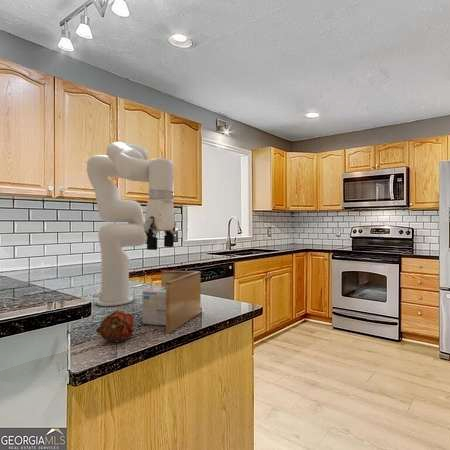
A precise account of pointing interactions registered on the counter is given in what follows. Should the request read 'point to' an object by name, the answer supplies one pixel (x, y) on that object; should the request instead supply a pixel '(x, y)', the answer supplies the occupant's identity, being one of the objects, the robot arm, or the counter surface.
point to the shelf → (181, 297)
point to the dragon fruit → (116, 326)
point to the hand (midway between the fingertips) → (160, 248)
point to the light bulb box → (154, 306)
